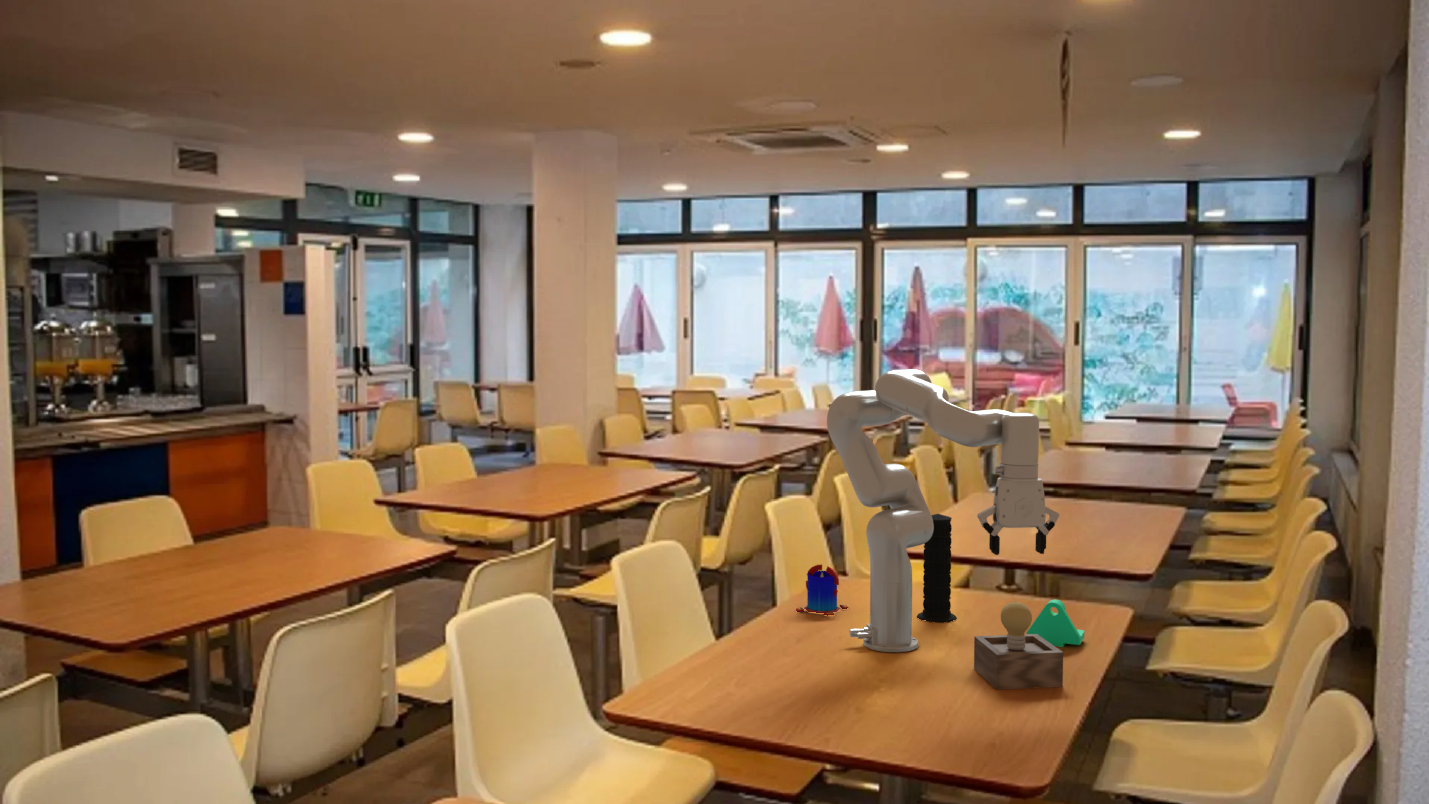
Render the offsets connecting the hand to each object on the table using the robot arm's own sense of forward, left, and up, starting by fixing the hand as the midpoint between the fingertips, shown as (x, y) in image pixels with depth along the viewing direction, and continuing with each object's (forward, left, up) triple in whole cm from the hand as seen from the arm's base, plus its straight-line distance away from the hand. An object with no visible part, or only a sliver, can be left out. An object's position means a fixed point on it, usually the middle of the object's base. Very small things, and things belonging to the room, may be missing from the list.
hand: (1017, 553), depth 250 cm
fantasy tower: (-29, +60, -27) cm, 72 cm away
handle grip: (-2, +49, -27) cm, 56 cm away
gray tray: (0, -1, -26) cm, 26 cm away
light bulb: (0, -1, -21) cm, 21 cm away
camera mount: (+19, +24, -27) cm, 41 cm away
